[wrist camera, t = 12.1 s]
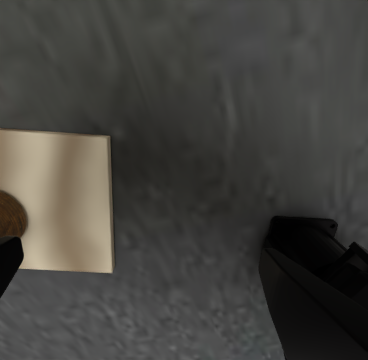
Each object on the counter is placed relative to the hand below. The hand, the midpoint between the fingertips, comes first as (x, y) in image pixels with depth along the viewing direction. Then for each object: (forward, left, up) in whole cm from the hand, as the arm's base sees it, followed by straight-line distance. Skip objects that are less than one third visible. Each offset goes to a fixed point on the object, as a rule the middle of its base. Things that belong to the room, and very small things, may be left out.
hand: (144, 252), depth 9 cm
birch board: (+15, +5, -13) cm, 20 cm away
